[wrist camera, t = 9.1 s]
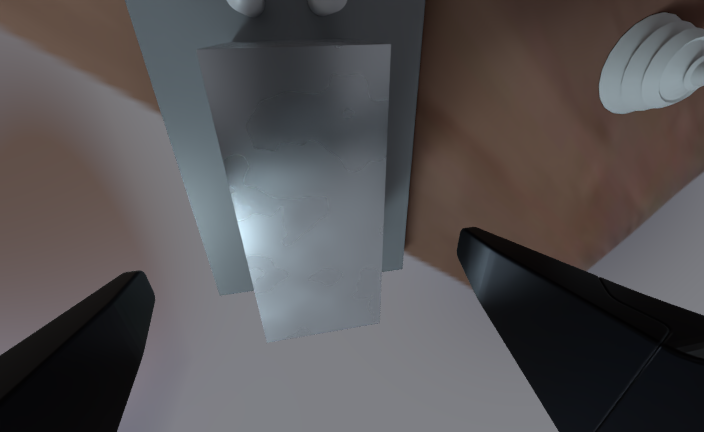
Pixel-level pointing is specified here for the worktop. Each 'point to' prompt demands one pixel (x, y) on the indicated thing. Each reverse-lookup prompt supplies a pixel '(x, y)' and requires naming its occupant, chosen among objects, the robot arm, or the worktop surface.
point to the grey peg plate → (270, 25)
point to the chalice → (653, 65)
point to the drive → (305, 174)
